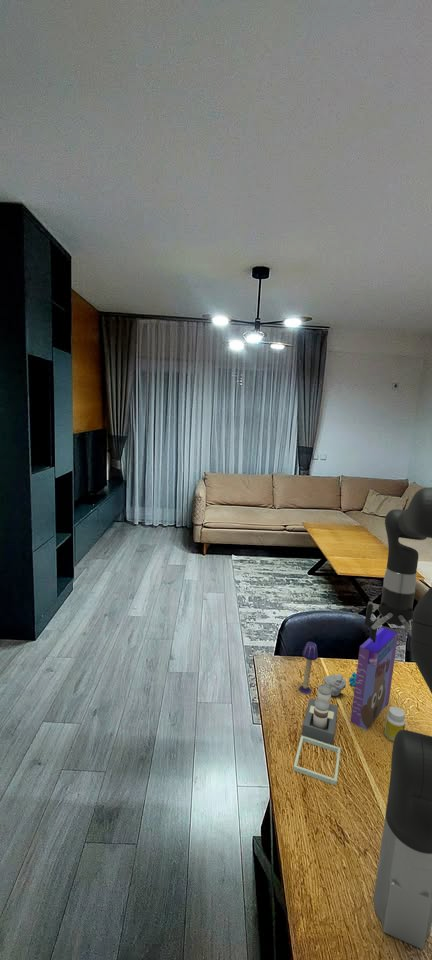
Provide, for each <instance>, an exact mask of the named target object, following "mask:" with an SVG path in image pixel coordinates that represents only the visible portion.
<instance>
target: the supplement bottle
mask: <svg viewBox="0 0 432 960" xmlns="http://www.w3.org/2000/svg"><path fill="white" fill-rule="evenodd" d="M387 712H388V713H387V714H386V717H385V724H384V731H383V735H384V737H385V739H387V740H388V741H390V742H391V743H394V739H395V736H396V734H397V733H398V732H399V731H400V730H405V728H406V720H405V718H406V717H405V714H406V712H405V711H404V710H403V709H402V708H400V707H397V706H391V707H388V711H387Z"/></svg>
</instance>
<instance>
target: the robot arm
mask: <svg viewBox="0 0 432 960" xmlns="http://www.w3.org/2000/svg"><path fill="white" fill-rule="evenodd" d="M384 525H385V532H386V536H387V544H388V546H387V548H388V550H387V551H388V553H387V554H388V555H387V563H386V570H385V572H384V577H383V585H382V592H381V600H380V603H379V604H377V603H373V601H372V600H369V601H367V602H368V603H367V607H366V613H365V619H364V625H365V626H368V627H370V634H369V635H370V636H369V638H370V639H371V640H373V641H372V642H374V643H375V640H376V633H377V630H378V629H379V628H378V627H381V626H383V624H386V623H387V625H393V626H394V625H395V626H396V627H402V626H403V627H404V629H405V631H406V632H407V633H408V639H407V645H406V646H407V647H406V651H408V652H411V654H412V657H413V660H414V663H415V664H416V666H417V669H418V671H419V673H420V674H421V677H422V678H423V680H424V682H425V684H426V685H427V688H428V689H429V692H430V694H432V586H430V588H428V590H426V592H425V593H424V595H423V596H422V597H421V598H420V599H419V601H418V602H417V604H416V605H415V607H413V606H414V600H415V592H416V583H417V570H418V563H419V552H418V550H417V549H415V548H413V547H411V546H408V545H405V544H402V543H401V542H400V541H399V539H400V538H401V539H407V540H415V541H417V540H418V541H425V540H426V539H428V538H429V539H432V487H429V486H427V487H422V488H420V489H418V490H417V491H416V492H415V493H414V495H413V496H412V498H411V500H410V502H409V504H408V505H407V508H406V509H404V510H403V509H398V508H397V509H391V510H389V511H388V512H387V513H386V515H385V518H384ZM377 610H378V611H379V615H377V617H376V618H375V619H373V620H372V619H371V618H372V614H373V613H375V612H376V611H377ZM410 621H412V622H410ZM389 775H390V779H389V784H388V785H389V786H388V794H387V802H386V808H385V809H386V810H385V815H384V823H383V831H382V837H381V844H380V850H379V851H380V852H379V857H378V858H379V859H378V865H377V869H376V870H377V872H376V878H375V885H374V893H373V906H374V909H375V912H376V915H377V917H378V919H379V921H380V922H381V925H382V931H383V933H384V934H387V935H389V936H392V937H393V938H395V939H398V940H400V941H402V942H405V943H407V944H409V945H412V946H413V947H416V948H418V949H420V950H424V948H425V942H426V940H427V939H428V938H429V936H430V934H431V929H432V736H431V735H427V734H424V733H420V732H415V731H412V730H408V729H404V730H400V731H399V732H398V733H397V734H396V736H395V739H394V742H392V751H391V763H390V774H389Z"/></svg>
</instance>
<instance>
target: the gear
mask: <svg viewBox="0 0 432 960" xmlns="http://www.w3.org/2000/svg"><path fill="white" fill-rule="evenodd" d="M356 671H357V668H356ZM356 674H357V672H352V674H351V677H349V679H348V680H349V684H350V686H351V687H354V688H355V682H356Z"/></svg>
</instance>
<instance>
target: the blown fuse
mask: <svg viewBox="0 0 432 960" xmlns="http://www.w3.org/2000/svg"><path fill="white" fill-rule="evenodd" d="M328 709H329V703H328V702H327V701H325V700H323V699H317V698H316V699H315V706H314V716H313V725H312V726H314V727H317V728H320V729H323V730H326V725H327V717H328Z"/></svg>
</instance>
